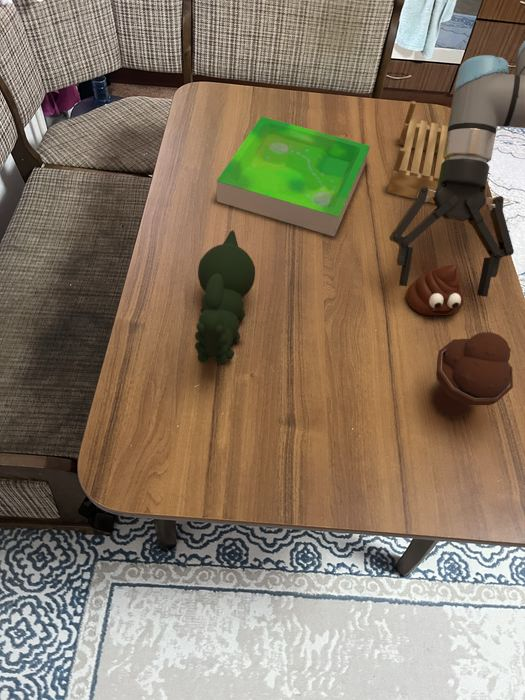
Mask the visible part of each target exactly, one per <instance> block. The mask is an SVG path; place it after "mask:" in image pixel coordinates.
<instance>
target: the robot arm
mask: <svg viewBox="0 0 525 700" xmlns="http://www.w3.org/2000/svg"><path fill="white" fill-rule="evenodd" d="M509 73H510V70H509V62H508V61H507V60H506V59H505V58H503V57H500V56H499V57H497V56H495V55H491V54H490V55H489V54H485V55H483V54H482V55H476V56H473V57H470V58H468V59H466V60H465V61H463V62H462V63H461V65H460V66H459V68H458V71H457V77H456V81H455V85H454V90H453V95H452V101H451V106H450V113H449V118H448V125H447V126H448V131H447V137H446V143H445V148H444V153H443V158H444V159H445V161H444V162H443V163H442V164H441V170H440V175H439V181H438V187H437V189H436V191H434V190H430V189H428V188H427V187H422V188H420V189H418V190H417V193H416V197H415V199H414V201H413V202H412V203H411V205H410V206H409V208H408V209H407V211H406V212H405V214H404V216H403V217H402V218H401V219H400V221H399V222H398V223H397V225H396V227H395V228H394V230H393V231H392V232H391V234H390V235H389V241H390V242H393V243H395V244H397V245H398V252H397V258H396V265H397V266H401V271H400V274H399V275H400V276H399V281H398V286H400V287H408V283H409V275H410V271H411V270H410V269H411V264H412V259H413V253H414V247H412V246H410V245H411V243H413V242H414V241H415V240H416V239H417V238H418V237H419V236H421V235H422V234H423V233H424V232H425V231H426V230H427V229H428V228H429V227H431V226H432V225H433V224H434V223H435V222H436V221H438V220H439V219H441V218H443V219H444V220H454V221H455V220H456V221H458V222H466V221H467V222H468V223H469V225H470V226H471V227H472V229H473V230H474V232H475V233H476V235H477V237H478V239H479V241H480V242H481V244H482V246H483V248H484V249H485V251H486V253H487V254H488V256H489V257H483V262H482V268H481V271H480V277H479V283H478V287H477V294H476V295H477V296H478V297H485V298H487V297H488V295H489V291H490V285H491V280H492V278H496V277H497V275H498V271H499V267H500V261H501V259H502V258H503V257H508V256H512V255H513V254H514V253H515V250H514V246H513V243H512V238H511V236H510V231H509V228H508V224H507V220H506V217H505V214H504V200H505V199H504V197H503V196H502V195H498V196H495V197H487V196H486V188H487V183H488V178H489V172H490V165H489V162H491V161H492V157H493V152H494V145H495V141H496V140H495V139H496V134H497V129H498V127H504V128H517V129H518V128H519V129H525V40H524V41H523V42H522V44H521V45H520V47H519V49H518V53H517V58H516V62H515V73H516V74H509ZM430 198H433V200H434V202H435V203H434V204H435V206H436V208H434V209H433V210H431V212H430V213H429V214H428V215H427V216H426V217H425V218H424V219H423V220H421V221H420V222H419V223H418V224H417V225H415V226H414V228H412V229H411V230H410V231H409V232H408V233H407V234H406V235H405V236H403V235H404V232H405V231H406V230H407V229H408V227H409V226H410V224H411V223H412V222H413V220H414V218H415V217H416V216H417V215H418V213H419V211H420V210H421V208H422V207H423V205H424V204H425V203H428V202H427V201H429V199H430ZM484 206H486V209H487V211H489V216H490V219H491V223H492V227H493V230H494V231H493V232H494V234H495V236H496V239H495V238H494V236H493V234H492V232H491V231H490V229H489V227H488V225H487V224H486V222H485V221H484V220H485V219H484V216H483V215H482V213H481V211H480V210H481V209H482V208H483V207H484Z"/></svg>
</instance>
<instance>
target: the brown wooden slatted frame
mask: <svg viewBox="0 0 525 700" xmlns="http://www.w3.org/2000/svg"><path fill="white" fill-rule="evenodd" d="M416 105H417V102H416V101H415V100H411V101H410V103H409V107H408V110H407V113H406V117H405V119H404V124H403V126H402V130H401V132H400V136H399V140H398V145H399V146H403V147H400V148H399V151H398V154H397V157H396V160H395V163H394V167H393V170H392V173H391V175H390V180H389V183H388V185H387V189H386V193H387V194H393V195H397V196H401V197H405V198H409V199H414V200H415V197H416V193H417V190H418V189H420V188H422V187H427V188H428V189H430V190H434V191H436V189H437V187H438V181H439V175H440V170H441V164H442V163H443V162H444V161H446V160H445V159H444V158H443V153H444V148H445V143H446V137H447V131H448V125H444V124H442V125H441V127H439V126H440V124H439V123H436V122H431V124H430V125H429V121H426V120H420V123H419V122H418V119H417V118H413V115H414V113H415V108H416ZM412 149H414V151H413V157H412V160H411V161H412V162H411V166H410V170H408V167H409V161H410V158H411V152H412ZM423 151H425V155H424V159H423V165H422V171H421V172H422V173H421V172H420V166H421V162H422V156H423ZM435 154H436V158H435V164H434V170H433V175H431V173H432V168H433V162H434V155H435ZM426 203H430V204H431V203H432V204H435V202H434V200H433V198H430V199H429V201H427V202H426Z"/></svg>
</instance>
